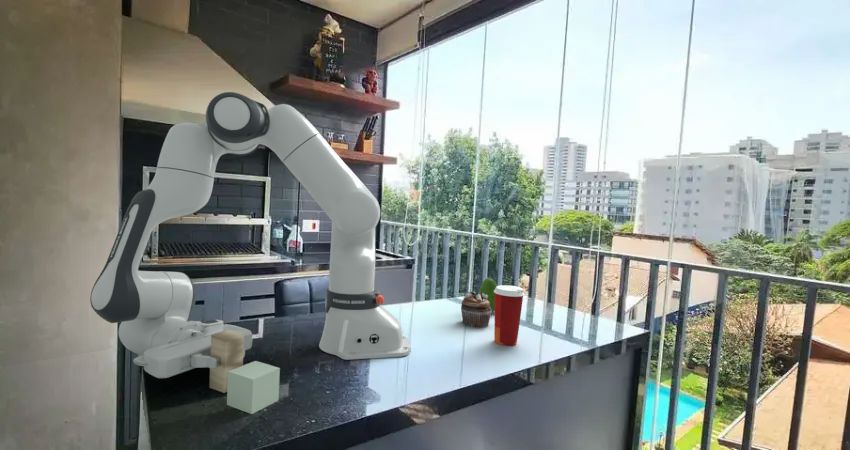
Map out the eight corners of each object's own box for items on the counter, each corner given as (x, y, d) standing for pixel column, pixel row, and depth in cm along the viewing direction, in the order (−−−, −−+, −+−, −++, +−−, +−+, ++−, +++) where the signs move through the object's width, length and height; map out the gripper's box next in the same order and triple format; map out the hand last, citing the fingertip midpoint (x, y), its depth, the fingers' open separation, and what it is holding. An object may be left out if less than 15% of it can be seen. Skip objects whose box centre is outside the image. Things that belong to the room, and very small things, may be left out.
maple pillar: (227, 380, 85) (229, 329, 85) (242, 385, 84) (244, 333, 83) (209, 387, 82) (211, 335, 81) (224, 392, 80) (226, 339, 79)
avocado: (475, 314, 147) (478, 278, 146) (476, 308, 155) (479, 275, 154) (499, 316, 146) (502, 281, 145) (499, 310, 154) (502, 277, 153)
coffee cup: (526, 343, 119) (530, 288, 118) (510, 349, 113) (514, 292, 112) (500, 335, 125) (504, 283, 124) (483, 341, 119) (487, 286, 118)
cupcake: (456, 325, 133) (458, 292, 132) (464, 317, 142) (466, 287, 141) (487, 330, 129) (489, 296, 129) (493, 322, 138) (496, 291, 138)
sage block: (254, 392, 81) (255, 360, 81) (278, 400, 78) (279, 368, 78) (226, 405, 76) (228, 371, 75) (251, 414, 73) (253, 379, 73)
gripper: (128, 342, 78) (178, 358, 72) (225, 317, 97) (271, 329, 91) (127, 376, 79) (177, 396, 73) (224, 345, 97) (270, 358, 91)
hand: (230, 358), depth 82 cm, fingers closed on maple pillar, 4 cm apart
